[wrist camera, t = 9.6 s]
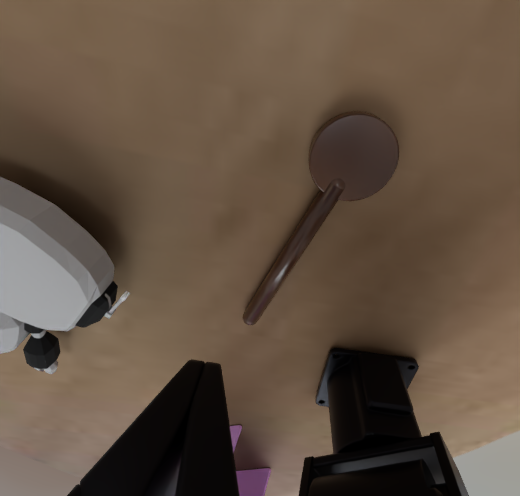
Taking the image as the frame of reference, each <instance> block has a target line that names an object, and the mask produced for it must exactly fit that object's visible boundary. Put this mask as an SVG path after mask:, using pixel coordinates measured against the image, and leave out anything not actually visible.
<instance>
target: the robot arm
mask: <svg viewBox="0 0 520 496" xmlns="http://www.w3.org/2000/svg"><path fill="white" fill-rule="evenodd" d="M335 354H338V355H335ZM418 367H419V366H418V364H417V361H416V360H415V359H412V358H405V357H398V356H391V355H384V354H377V353H370V352H363V351H356V350H349V349H341V348H333V349H331V350H330V351H329V354H328V358H327V361H326V364H325V367H324V371H323V374H322V377H321V381H320V384H319V387H318V390H317V394H316V403H317V404H318V405H320V406H327V407H329V413H330V423H331V433H332V444H333V454H330V455H325V456H320V457H315V458H314V457H313V456H312V457H307V458H305V460H304V466H303V472H302V478H301V484H300V491H299V496H469V495H468V492H467V490H466V488H465V486H464V483H463V480H462V478H461V475H460V473H459V470H458V468H457V467H456V464H455V462H454V460H453V458H452V456H451V454H450V452H449V450H448V448H447V446H446V444H445V442H444V440H443V438H442V436H441V434H440V432H435V433H430V435H429V436H424V437H422V436H421V433H420V430H419V427H418V424H417V421H416V418H415V415H414V412H413V406H412V403H411V400H410V397H409V394H408V391H407V388H408V387H409V385H410V383H411V381H412V379H413V377H414V375H415V373H416V372H417V370H418ZM67 496H240V495H239V488H238V481H237V474H236V467H235V460H234V453H233V446H232V439H231V432H230V425H229V418H228V411H227V404H226V397H225V390H224V383H223V376H222V369H221V365H220V364H219V363H212V362H206V363H204V362H203V361H198V360H189V361H188V362H187V363H186V364H185V365H184V366H183V367H182V368H181V369H180V371H179V372H178V373H177V374H176V375H175V376H174V377H173V378H172V379H171V381H170V382H169V383H168V384H167V385H166V386H165V387H164V388H163V390H162V391H161V392H160V393H159V394H158V395H157V396H156V397H155V398H154V400H153V401H152V402H151V403H150V404H149V405H148V406H147V407H146V408H145V410H144V411H143V412H142V413H141V414H140V415H139V416H138V417H137V418H136V420H135V421H134V422H133V423H132V424H131V425H130V426H129V427H128V429H127V430H126V431H125V432H124V433H123V434H122V435H121V436H120V437H119V439H118V440H117V441H116V442H115V443H114V444H113V445H112V446H111V447H110V449H109V450H108V451H107V452H106V453H105V454H104V455H103V456H102V457H101V459H100V460H99V461H98V462H97V463H96V464H95V465H94V466H93V468H92V469H91V470H90V471H89V472H88V473H87V474H86V475H85V476H84V478H83V479H82V480H81V481H80V485H79V484H78V485H76V486H75V487H74V488H73V490H72V491H71V492H70V493H69V494H68V495H67Z"/></svg>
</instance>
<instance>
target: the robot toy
mask: <svg viewBox="0 0 520 496" xmlns="http://www.w3.org/2000/svg"><path fill="white" fill-rule="evenodd" d="M113 277H114V264H113V263H112V261H111V259H110V258H109V256H108V254H107V252H106V251H105V250H104V248H103V247H102V246H101V245H100V244H99V243H98V242H97V241H96V240H95V239H94V238H93V237H92V236H91V235H90V234H89V232H88V231H86V230H85V229H84V228H83V227H82V226H80V225H79V224H78V223H77V222H76V221H74V220H73V219H72V218H71V217H70V216H68V215H67V214H66V213H65V212H64V211H62V210H61V209H60V208H59V207H58V206H56V205H55V204H53V203H51V202H49V201H47V200H46V199H44V198H42V197H40V196H38V195H36V194H34V193H33V192H31V191H29V190H27V189H25V188H23V187H22V186H20V185H18V184H16V183H14V182H11V181H9V180H7V179H4V178H2V177H0V354H1V353H7V352H10V351H12V350H14V349H16V348H17V346H18V345H19V344H20V343H21V342H22V341H23V340H24V339H25V338H26V337H27V336H28V335H29V334H30V333H31V334H32V335H31V337H30V339H29V340H28V342H27V344H26V345H25V347H24V349H23V350H24V354H25V358H26V362H27V364H29V365H30V366H31V367H33V368H35V369H36V370H39V371H44V370H45V372H46V373H50V374H52V373H54V372H55V371H56V369H57V365H58V362H57V361H56V360H57V358H58V356H59V354H60V347H59V341H58V338H57V337H55V336H54V335H52V334H51V333H49V332H47V331H46V330H56V331H68V330H70V329H72V328H74V327H76V326H79V327H87V326H89V325H91V324H93V323H96V322H98V321H100V320H101V319H102V317H103V316H105V317H107V318H110V317H111V316H112V314H113V313H114V312H115V310H116V308H117V307H118V306H119V305H120V304H121V302H122V301H124V300H125V299H126V298H127V297H128V295H129V294H130V293H129V292H128V291H125V292H124V293H123V295H122V296H121V297H120V299H119V300H118V301H117V302H116V304H115V305H114V306H113V307H112V305H113V303H114V302H115V300H116V294H117V288H118V286H117V285H116V284H115V282H114V281H113Z"/></svg>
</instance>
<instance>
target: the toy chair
mask: <svg viewBox="0 0 520 496" xmlns="http://www.w3.org/2000/svg"><path fill="white" fill-rule="evenodd" d="M241 430H242V426H241V425H234V426H230V432H231V439H232V446H233V453H234V450H235V447H236V444H237V441H238V438H239V435H240V433H241ZM270 473H271V469H270V468H263V469H253V470H243V471H236V474H237V481H238V488H239V495H240V496H265V491H266V487H267V483H268V479H269V476H270Z"/></svg>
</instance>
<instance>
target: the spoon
mask: <svg viewBox="0 0 520 496" xmlns="http://www.w3.org/2000/svg"><path fill="white" fill-rule="evenodd" d="M398 159H399V146H398V141H397V138H396V136H395V134H394V132H393V130H392V129H391V128H390V127H389V126H388V125H387V124H386V123H385V122H384V121H383V120H381V119H380V118H378V117H377V116H375V115H373V114H370V113H366V112H356V111H354V112H347V113H344V114H341V115H338V116H336V117H334V118H332V119H331V120H329V121H328V122H327V123H326V124H324V125H323V126H322V127H321V129H320V130H319V131H318V132H317V134H316V135H315V137H314V139H313V141H312V144H311V147H310V151H309V167H310V172H311V176H312V178H313V180H314V182H315V184H316V185H317V187H318V188H319V189H320V191H319V193H318V195H317V196H316V198H315V199H314V201H313V203H312V204H311V206H310V208H309V209H308V211H307V212H306V214H305V216H304V217H303V219H302V220H301V222H300V224H299V225H298V227H297V228H296V230H295V232H294V233H293V235H292V236H291V238H290V240H289V241H288V243H287V245H286V246H285V248H284V249H283V251H282V253H281V254H280V256H279V257H278V259H277V261H276V262H275V264H274V265H273V267H272V269H271V270H270V272H269V273H268V275H267V277H266V278H265V280H264V282H263V283H262V285H261V286H260V288H259V290H258V291H257V293H256V294H255V296H254V298H253V299H252V301H251V302H250V304H249V306H248V307H247V309H246V310H245V312H244V314H243V320H244V322H245V323H246V324H248V325H254V324H255V323H256V322H257V321H258V319H259V318H260V316H261V315H262V313H263V312H264V310H265V309H266V307H267V306H268V304H269V303H270V301H271V300H272V298H273V297H274V295H275V294H276V292H277V291H278V289H279V288H280V286H281V285H282V283H283V282H284V280H285V279H286V277H287V276H288V274H289V273H290V271H291V270H292V268H293V267H294V265H295V264H296V262H297V261H298V259H299V258H300V256H301V255H302V253H303V252H304V250H305V249H306V247H307V246H308V244H309V243H310V241H311V240H312V238H313V237H314V235H315V234H316V232H317V231H318V229H319V228H320V226H321V225H322V223H323V222H324V220H325V219H326V217H327V216H328V214H329V213H330V211H331V210H332V208H333V207H334V205H335V204H336V202H337V201H338V200H343V201H355V200H360V199H364V198H367V197H369V196H371V195H373V194H375V193H376V192H378V191H379V190H380V189H382V188H383V187H384V186H385V185H386V184H387V182H388V181H389V180H390V178H391V177H392V175H393V173H394V171H395V169H396V167H397V163H398Z"/></svg>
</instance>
